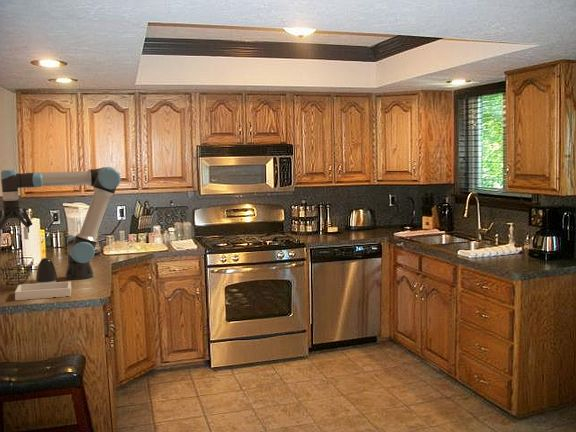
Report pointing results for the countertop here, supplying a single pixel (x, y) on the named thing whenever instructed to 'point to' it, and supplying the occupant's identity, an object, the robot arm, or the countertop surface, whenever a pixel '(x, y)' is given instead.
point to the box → (43, 290)
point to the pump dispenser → (46, 272)
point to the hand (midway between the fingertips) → (13, 241)
